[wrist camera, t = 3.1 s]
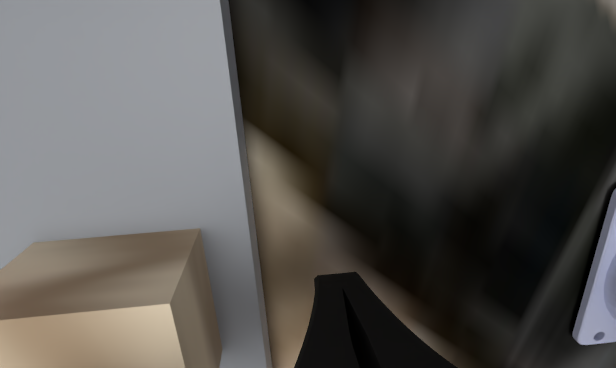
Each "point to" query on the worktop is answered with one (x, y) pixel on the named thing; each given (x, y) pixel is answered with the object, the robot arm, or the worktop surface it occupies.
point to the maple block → (110, 304)
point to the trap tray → (132, 140)
